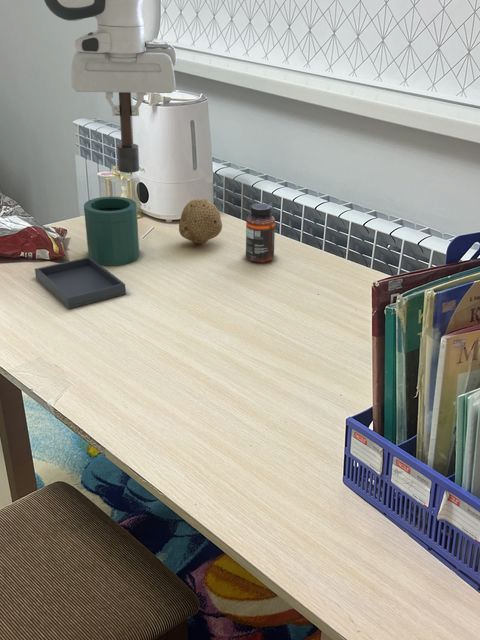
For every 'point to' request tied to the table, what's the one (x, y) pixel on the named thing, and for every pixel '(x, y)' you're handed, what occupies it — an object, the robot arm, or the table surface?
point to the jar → (112, 230)
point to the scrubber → (127, 137)
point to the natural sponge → (200, 221)
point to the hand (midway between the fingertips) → (125, 115)
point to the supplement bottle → (260, 233)
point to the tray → (80, 282)
